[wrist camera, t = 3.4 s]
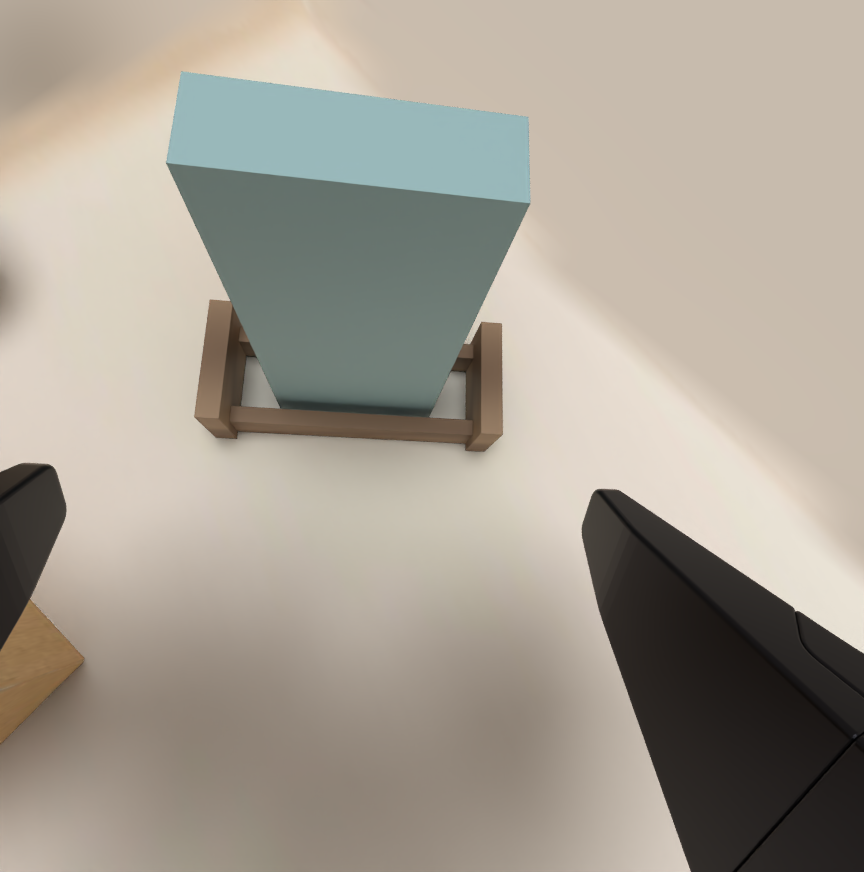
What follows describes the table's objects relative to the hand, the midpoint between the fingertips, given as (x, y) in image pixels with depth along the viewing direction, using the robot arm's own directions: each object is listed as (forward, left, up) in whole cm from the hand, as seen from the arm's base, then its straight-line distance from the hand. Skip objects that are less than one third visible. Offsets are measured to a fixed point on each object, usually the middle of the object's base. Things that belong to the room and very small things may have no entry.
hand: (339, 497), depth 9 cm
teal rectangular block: (+3, +5, -12) cm, 14 cm away
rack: (+3, +5, -12) cm, 14 cm away
